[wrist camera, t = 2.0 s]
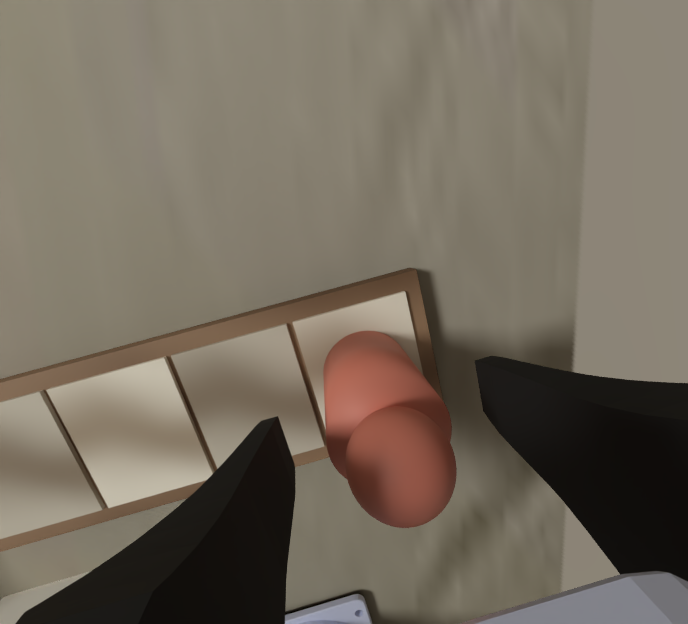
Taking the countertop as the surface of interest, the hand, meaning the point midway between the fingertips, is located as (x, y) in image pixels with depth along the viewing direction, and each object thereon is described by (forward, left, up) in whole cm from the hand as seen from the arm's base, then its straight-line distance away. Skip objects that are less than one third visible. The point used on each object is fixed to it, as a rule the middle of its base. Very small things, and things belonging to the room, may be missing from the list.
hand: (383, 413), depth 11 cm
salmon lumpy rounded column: (0, 0, -4) cm, 4 cm away
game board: (0, +8, -5) cm, 10 cm away
